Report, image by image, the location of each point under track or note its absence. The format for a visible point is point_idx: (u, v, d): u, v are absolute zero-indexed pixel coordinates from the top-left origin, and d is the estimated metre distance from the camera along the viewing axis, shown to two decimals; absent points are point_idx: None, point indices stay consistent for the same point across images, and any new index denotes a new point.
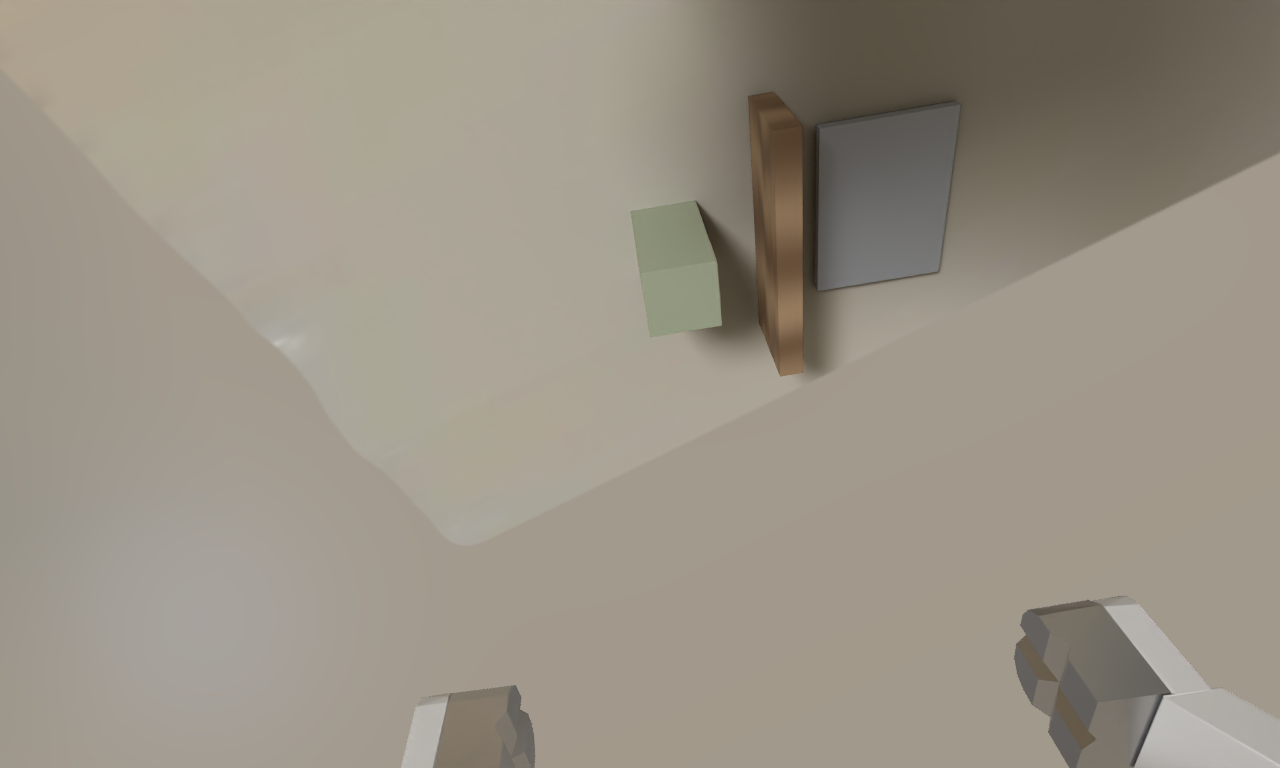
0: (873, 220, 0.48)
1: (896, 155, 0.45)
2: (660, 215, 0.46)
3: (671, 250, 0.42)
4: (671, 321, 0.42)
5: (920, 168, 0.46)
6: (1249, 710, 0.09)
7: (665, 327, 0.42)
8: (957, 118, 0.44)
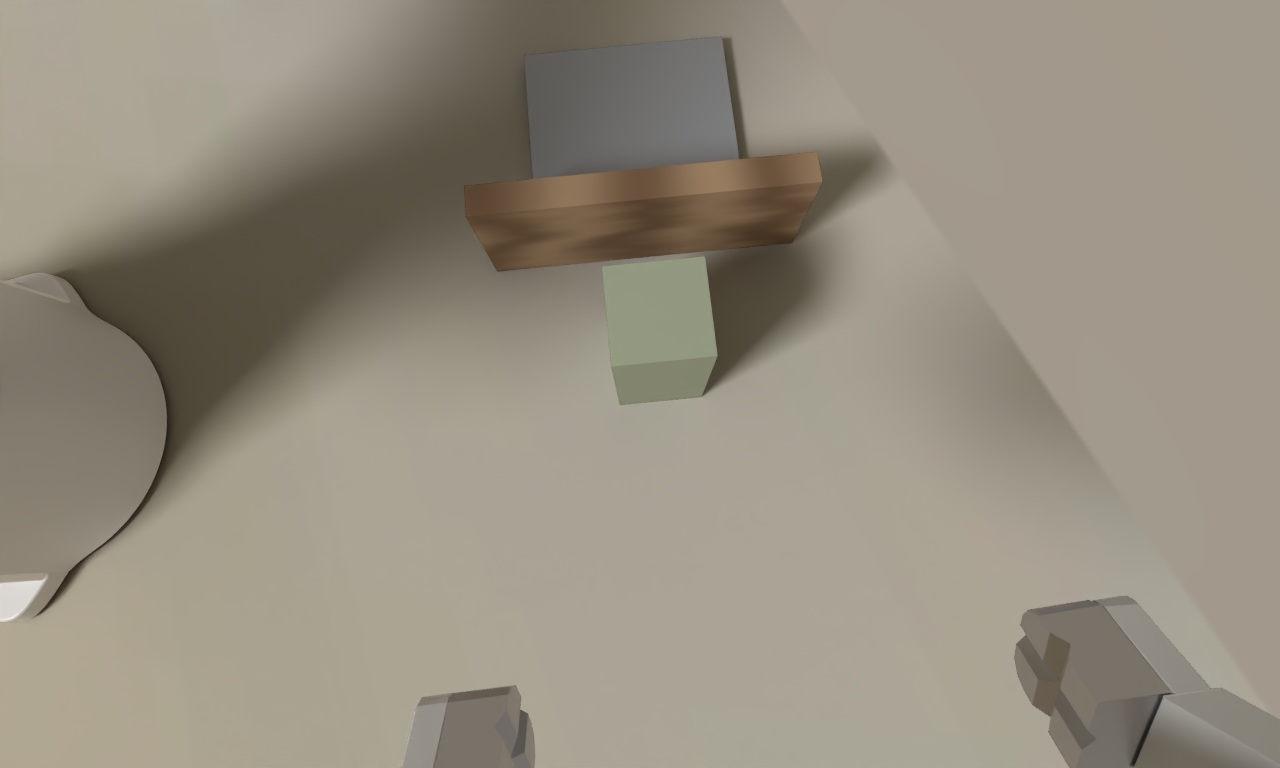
0: (648, 119, 0.40)
1: (572, 108, 0.41)
2: None
3: None
4: (692, 324, 0.29)
5: (589, 80, 0.41)
6: (1249, 710, 0.09)
7: (702, 334, 0.29)
8: (538, 55, 0.41)
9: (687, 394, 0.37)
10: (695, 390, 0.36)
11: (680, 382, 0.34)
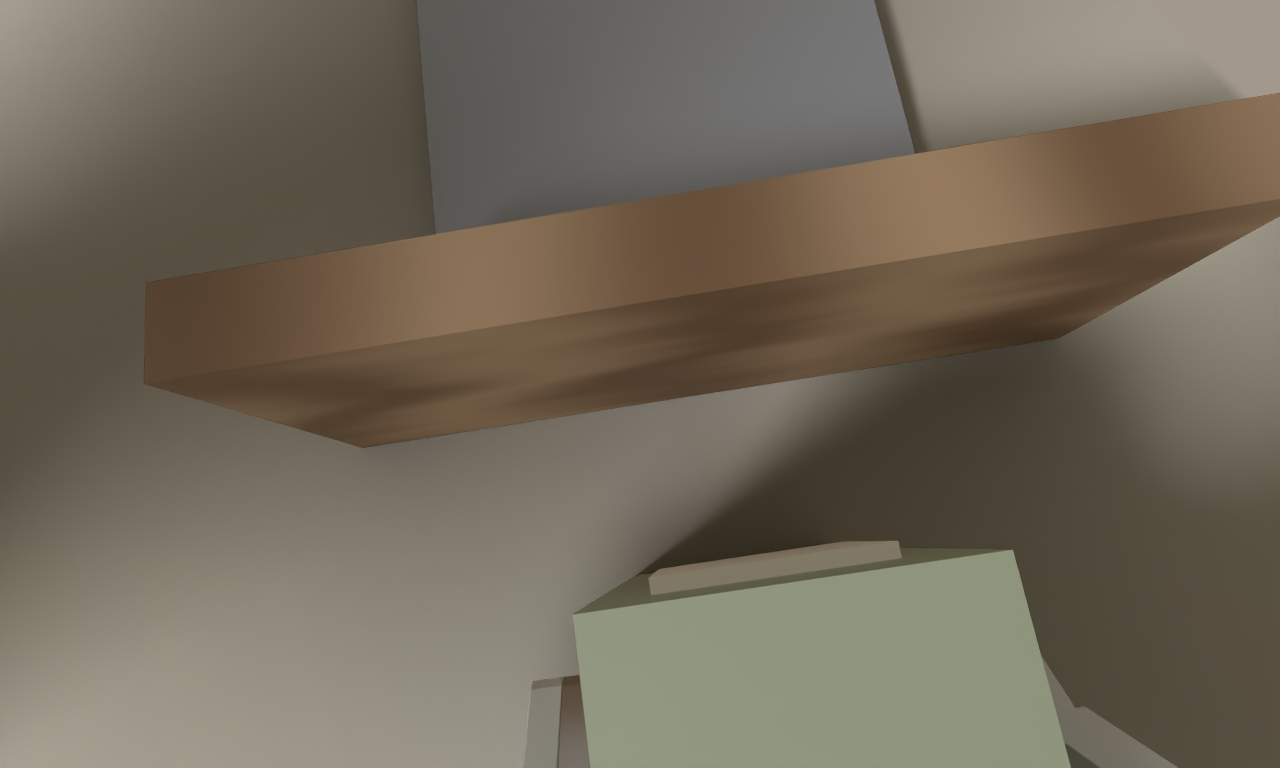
0: (692, 74, 0.18)
1: (519, 63, 0.18)
2: None
3: None
4: None
5: (555, 1, 0.19)
6: (1109, 729, 0.09)
7: None
8: None
9: None
10: None
11: None
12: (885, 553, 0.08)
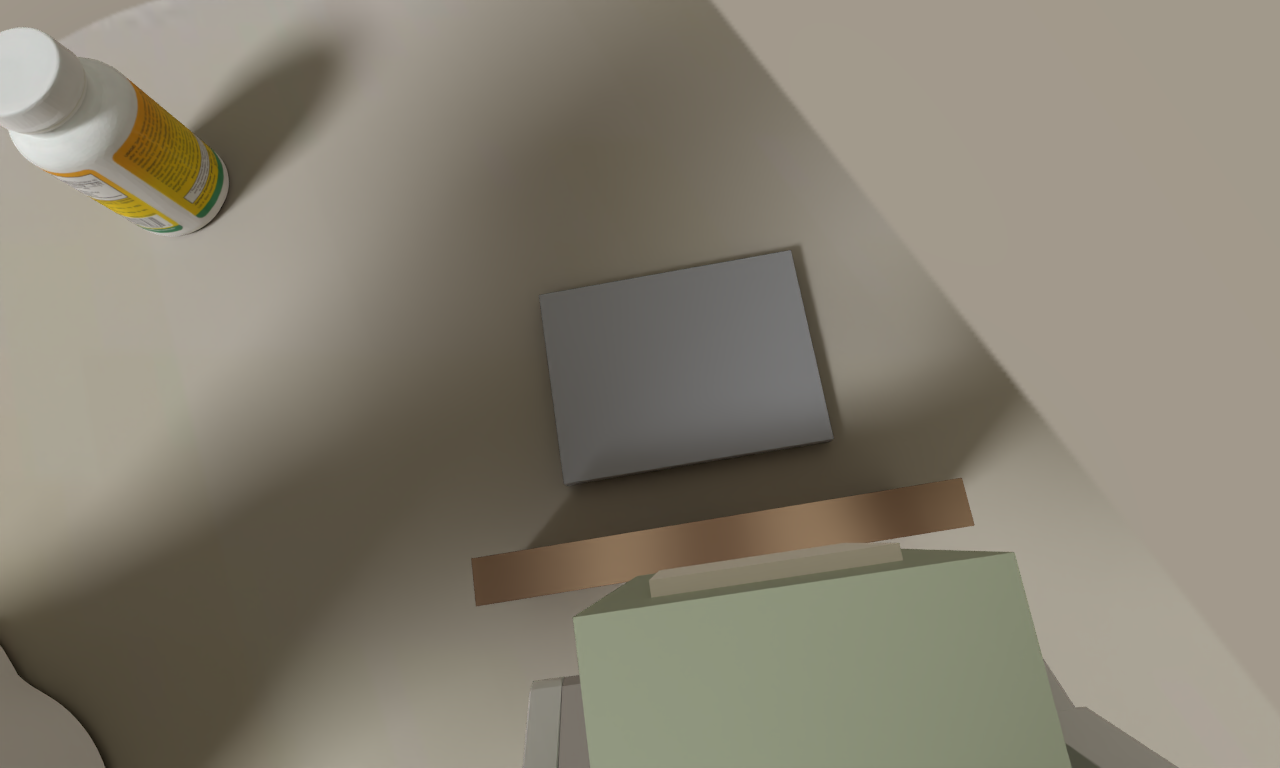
0: (705, 372, 0.31)
1: (605, 363, 0.32)
2: None
3: None
4: None
5: (624, 324, 0.32)
6: (1109, 729, 0.09)
7: None
8: (557, 293, 0.33)
9: None
10: None
11: None
12: (886, 555, 0.08)
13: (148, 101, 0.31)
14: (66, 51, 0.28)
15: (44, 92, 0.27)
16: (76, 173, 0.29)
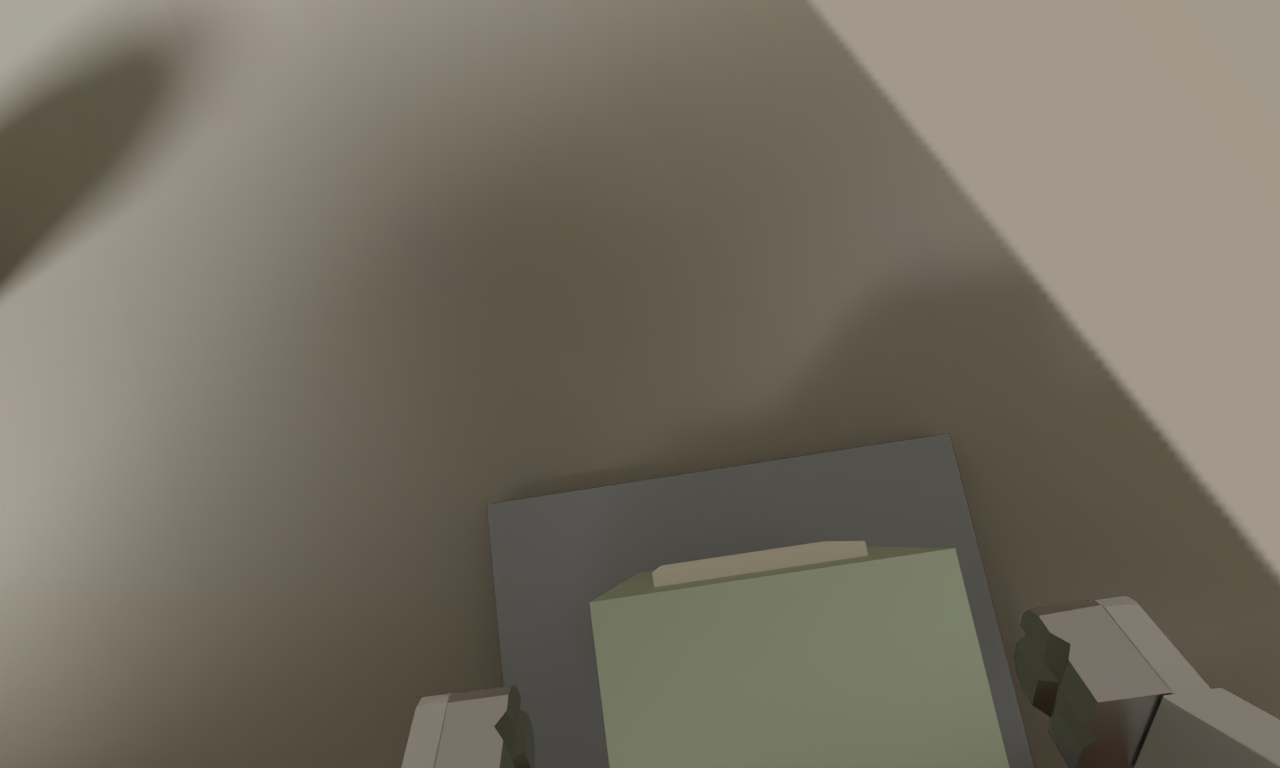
0: None
1: None
2: None
3: None
4: None
5: (642, 568, 0.17)
6: (1249, 710, 0.09)
7: None
8: (519, 503, 0.18)
9: None
10: None
11: None
12: (853, 551, 0.09)
13: None
14: None
15: None
16: None
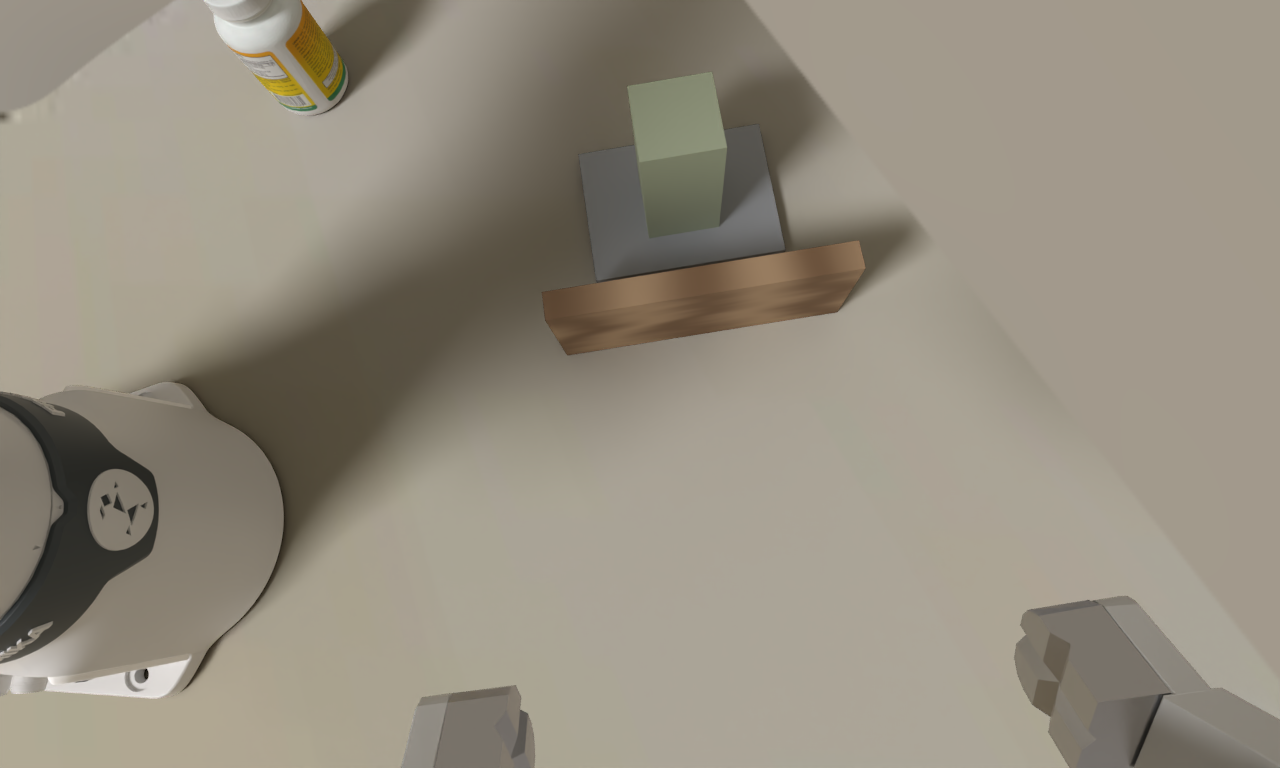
0: None
1: (625, 200, 0.44)
2: None
3: (636, 150, 0.38)
4: (704, 125, 0.35)
5: None
6: (1250, 709, 0.09)
7: (713, 131, 0.35)
8: (591, 153, 0.45)
9: (706, 220, 0.42)
10: (712, 213, 0.42)
11: (699, 196, 0.39)
12: None
13: (306, 8, 0.44)
14: None
15: None
16: (260, 54, 0.42)
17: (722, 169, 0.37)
